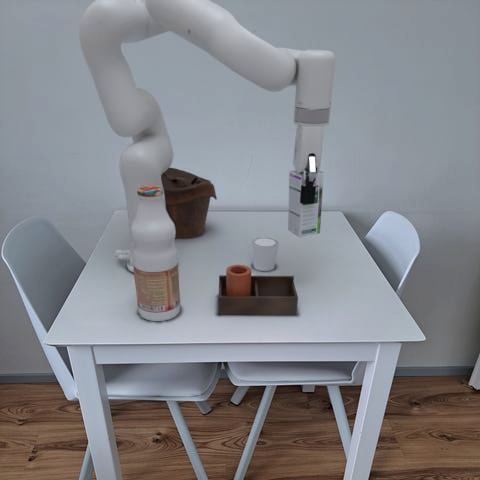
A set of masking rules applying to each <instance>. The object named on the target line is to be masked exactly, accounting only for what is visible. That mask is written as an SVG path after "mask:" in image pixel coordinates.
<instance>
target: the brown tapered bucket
mask: <svg viewBox="0 0 480 480" xmlns="http://www.w3.org/2000/svg"><path fill="white" fill-rule="evenodd" d="M161 181H162V185H163V189H164V194H165V204H166V211H167V213H168V215H169V217H170V219H171V220H172V221H173V223H174V225H175V230H176V234H175V239H177V238H178V239H190V238H195V237H199V236H201V235H203V233H204V232H205V228H206V221H207V217H208V213H209V207H210V203H211V198H214V200H216V201H217V199H218V198H217V193H216V188H215V185H214V184H213V183H212V182H211V180H210V179H206V178H205V177H204V178H203V177H201V176H198V175H196V174H194V173H191V172H189V171H185V170H183V169H178V168H175V167H169V168H168V169H167V170H166V171H165V172H164V173H163V174H162V175H161Z"/></svg>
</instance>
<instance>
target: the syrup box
mask: <svg viewBox="0 0 480 480" xmlns="http://www.w3.org/2000/svg"><path fill="white" fill-rule="evenodd" d="M305 171H309V169H305ZM307 176H309V175H306V177H307ZM288 181H289V182H288V207H287V208H288V210H287V211H288V214H287V215H288V216H287V230H288V231H289V232H290V233H292V234H293V235H294V236H296V237H298V238H303V237H307V236H313V235H319V234H320V233H321V223H322V207H323V206H322V205H323V191H324V190H323V188H324V172H323V171H321V170H319V172H318V173H317V174H316V191H315V201H314V203H313V204H301V203H300V194H301V185H303V172H300V173H298V172H297V171H296V169H293V170H289V172H288Z"/></svg>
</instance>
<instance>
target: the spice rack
mask: <svg viewBox="0 0 480 480" xmlns="http://www.w3.org/2000/svg"><path fill="white" fill-rule="evenodd" d="M298 301H299V297H298V292H297V288H296V285H295V276H294V275H251V292H250V296H226V274H224V275H223V274H222V275H221V274H220V275H218V315H219V316H297V313H298Z"/></svg>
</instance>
